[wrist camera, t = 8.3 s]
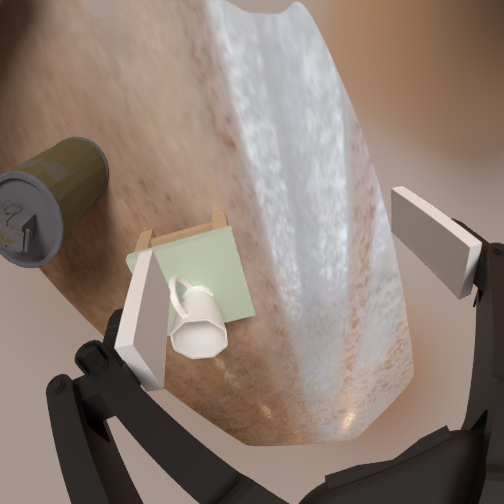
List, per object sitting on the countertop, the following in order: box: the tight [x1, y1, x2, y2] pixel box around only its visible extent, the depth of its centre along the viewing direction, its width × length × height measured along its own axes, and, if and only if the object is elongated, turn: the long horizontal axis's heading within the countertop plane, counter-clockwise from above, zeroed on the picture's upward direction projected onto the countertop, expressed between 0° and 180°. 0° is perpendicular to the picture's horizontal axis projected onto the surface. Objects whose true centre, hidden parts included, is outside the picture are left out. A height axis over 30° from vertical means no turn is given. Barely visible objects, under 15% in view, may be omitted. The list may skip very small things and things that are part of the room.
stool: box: [126, 209, 256, 336], centre depth 45 cm, size 14×14×8 cm
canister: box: [0, 137, 109, 268], centre depth 30 cm, size 11×10×20 cm
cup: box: [169, 275, 228, 359], centre depth 38 cm, size 7×10×8 cm
